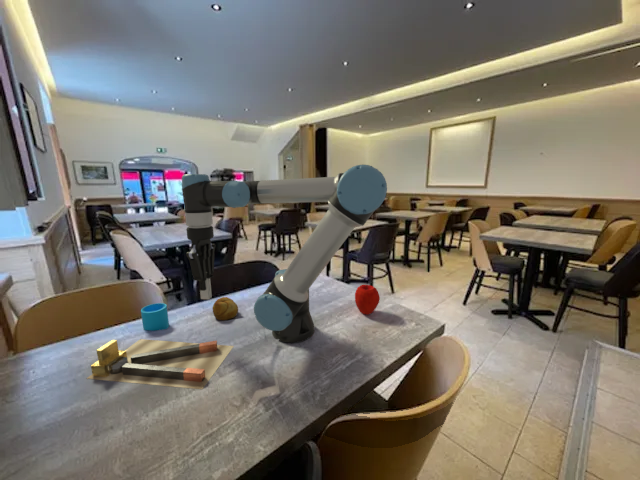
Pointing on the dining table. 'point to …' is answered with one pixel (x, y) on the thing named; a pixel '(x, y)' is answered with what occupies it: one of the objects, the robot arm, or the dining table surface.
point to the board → (171, 364)
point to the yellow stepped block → (106, 358)
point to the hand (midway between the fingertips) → (206, 298)
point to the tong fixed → (156, 371)
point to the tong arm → (174, 353)
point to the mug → (155, 317)
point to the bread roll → (225, 309)
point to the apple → (366, 299)
